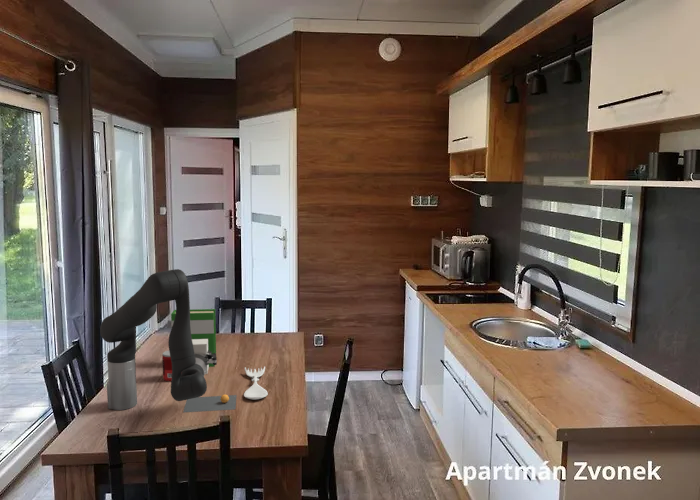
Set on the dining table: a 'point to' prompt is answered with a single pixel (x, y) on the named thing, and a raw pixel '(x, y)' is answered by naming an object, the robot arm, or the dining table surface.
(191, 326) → the hardback book
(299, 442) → the dining table surface
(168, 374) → the canned food
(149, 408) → the dining table surface
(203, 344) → the white rectangular block
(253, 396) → the white piece
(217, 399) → the mat
